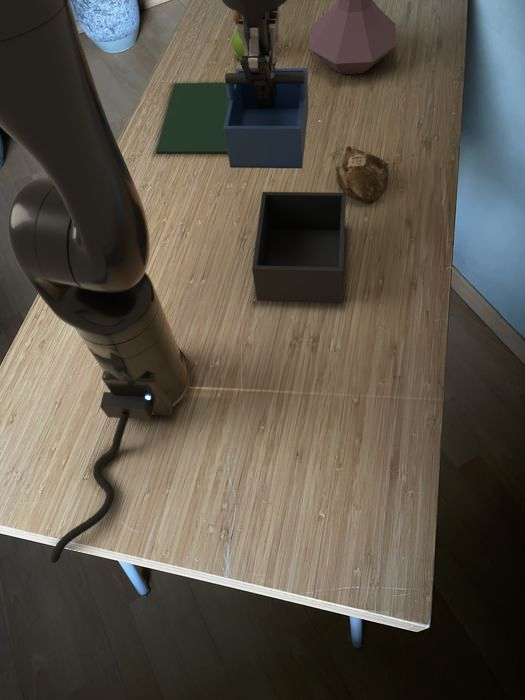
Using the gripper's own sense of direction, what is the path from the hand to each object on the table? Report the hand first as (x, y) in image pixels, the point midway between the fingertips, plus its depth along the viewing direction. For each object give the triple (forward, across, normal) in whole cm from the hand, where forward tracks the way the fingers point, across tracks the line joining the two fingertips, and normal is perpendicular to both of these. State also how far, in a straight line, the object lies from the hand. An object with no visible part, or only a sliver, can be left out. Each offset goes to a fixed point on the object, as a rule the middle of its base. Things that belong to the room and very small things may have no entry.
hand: (266, 100), depth 71 cm
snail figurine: (+22, -42, -9) cm, 48 cm away
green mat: (+22, -24, -14) cm, 35 cm away
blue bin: (+6, 0, 0) cm, 6 cm away
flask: (+22, -40, +10) cm, 47 cm away
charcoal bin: (+21, +8, +4) cm, 23 cm away
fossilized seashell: (+22, -8, +12) cm, 26 cm away
